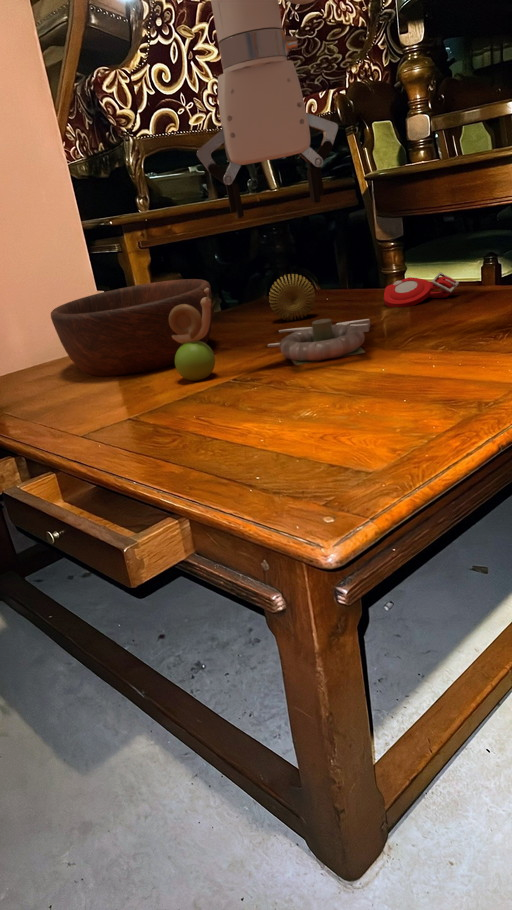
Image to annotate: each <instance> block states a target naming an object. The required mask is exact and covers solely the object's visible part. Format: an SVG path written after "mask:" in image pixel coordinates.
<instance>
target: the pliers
mask: <svg viewBox="0 0 512 910" xmlns="http://www.w3.org/2000/svg"><path fill="white" fill-rule="evenodd" d="M338 324H341V325H351V326H356V327H357V328H359V329H360V330H361V331H362V332H363V333H368V332H370V328H371V320H370V318H366V319H365V318H364V319H357V320H350V321H349V320H348V321H343V322H337V323H335V324H334V325H338ZM307 328H312V326H308V327H307V326H305V327H295V328H294V327H293V328H286V329H279V330H278V334H282V333H294V332H297V331H300V330H303V329H307ZM279 344H280V342H275V343H268V344H267V345H266V346H267V348H276V347H279Z"/></svg>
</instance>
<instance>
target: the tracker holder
mask: <svg viewBox="0 0 512 910" xmlns="http://www.w3.org/2000/svg"><path fill="white" fill-rule="evenodd" d="M459 284H460V281H458V280H456V279H455V278H452V277H451V276H448V275H446V274H445V273H443V272H440V271H439V272H438V273H437V274H436V276H435V277H434V278H433V280H427V279H425V278H419V277H411V276H410V277H409V276H408V277H406V278H405V277H404V278H403V279H400V280H396V281H394V282H393V283H392V284H388V285H387V286H386V287H385V289H384V293H383V303H384V305H385V306H387V307H389V308H407V307H413V306H415V305H418V304H419V303H422V302H423V301H424V300H426V299H444V298H448V297H449V296H450V295H451V294H452V293H453V292H454V290H455V289H456V288H457V287H458V286H459ZM439 289H441V290H440V291H434V290H439Z"/></svg>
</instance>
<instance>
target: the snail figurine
mask: <svg viewBox="0 0 512 910" xmlns="http://www.w3.org/2000/svg"><path fill="white" fill-rule="evenodd" d="M204 292H205V293H208V292H209V288H206V289H205V290H204ZM201 306H202V318H201V315H200V313H199V312H198V310H197V309H195V308H194V307H193V306H191V305H187V304H180V305H177V306H175V307H174V308H173V309H172V310H171V312H170V314H169V325H170V327H171V329H172V330H173V331H174V332H175V333H177V334H178V335H172V338H173V339H174V340H175V341H177V342H179V343H182V344H183V345H182V346H180V348H179V349H178V350H177V352H176V355H175V364H174V366H175V369H176V371H177V373H178V374H179V375H180V376H181V377H182V378H183V379H185V380H187V381H189V382H199V381H203V380H205V379H207V378H208V377H209V376H211V374H212V373H213V371H214V369H215V365H216V357H215V354H214V353H215V352H214V351H213V349H212V348H211V346H210V345H208V343H207V344H205V343H203V342H201V341H199V340H200V339H202V338H203V337H204V336H205V335H206V334H207V332H208V330H209V326H210V316H211V311H210V307H211V300H210V299H209V293H208V294H207V297H204V298H202V300H201Z"/></svg>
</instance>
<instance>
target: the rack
mask: <svg viewBox="0 0 512 910" xmlns="http://www.w3.org/2000/svg"><path fill="white" fill-rule="evenodd" d="M332 323H333V322H332V319H331V318H321V319H316V320H313V321H312V322H311V327H312V328H313V336H314V342H318V341H324V340H329V339H334V338H333V330H332V325H333V324H332ZM365 353H366V351H365V350H364V349H363V348H362V346H360V347H359V348H358V349H357V350H356V351H354V352H351V353H348V354H346V355H343V356H340V357H336V358H335V359H337V358H338V359H339V358H342V357H348V356H354V355H361V354H365ZM332 359H333V358H330V359H329V360H332ZM326 360H328V359H325V360H324V361H326ZM321 361H322V360H318V361H297V360H291V362H292V364H293V365H294V366H298V365H299V366H300V365H305V364H310V363H315V362H321Z"/></svg>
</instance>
